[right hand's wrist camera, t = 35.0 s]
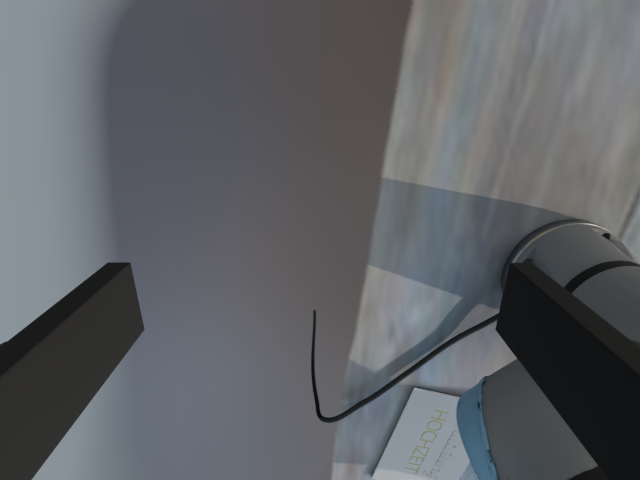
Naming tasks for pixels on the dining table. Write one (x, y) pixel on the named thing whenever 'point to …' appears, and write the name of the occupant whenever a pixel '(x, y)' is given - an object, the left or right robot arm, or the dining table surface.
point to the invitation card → (424, 441)
